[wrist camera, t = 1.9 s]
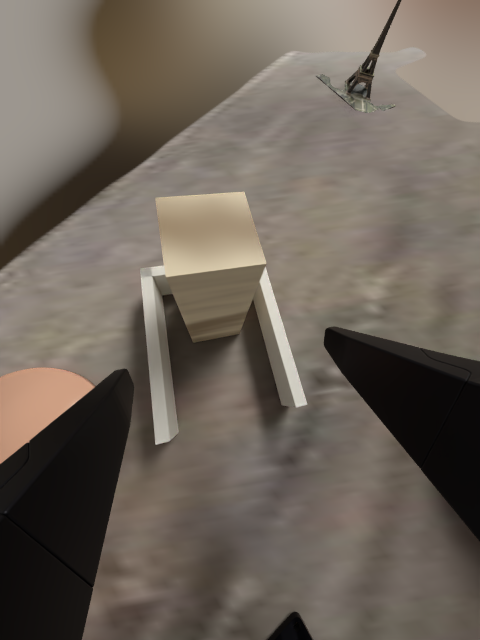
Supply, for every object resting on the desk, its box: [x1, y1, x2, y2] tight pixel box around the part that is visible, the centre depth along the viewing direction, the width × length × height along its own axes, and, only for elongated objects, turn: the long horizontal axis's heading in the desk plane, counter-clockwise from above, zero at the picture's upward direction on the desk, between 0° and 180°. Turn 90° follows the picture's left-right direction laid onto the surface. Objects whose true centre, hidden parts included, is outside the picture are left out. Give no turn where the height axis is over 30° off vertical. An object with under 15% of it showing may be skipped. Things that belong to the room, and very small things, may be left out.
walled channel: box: [140, 266, 307, 445], centre depth 20 cm, size 15×12×4 cm
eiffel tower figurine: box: [316, 0, 401, 113], centre depth 38 cm, size 15×10×13 cm
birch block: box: [155, 192, 266, 343], centre depth 17 cm, size 5×5×13 cm
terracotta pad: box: [0, 368, 96, 464], centre depth 17 cm, size 14×14×1 cm
